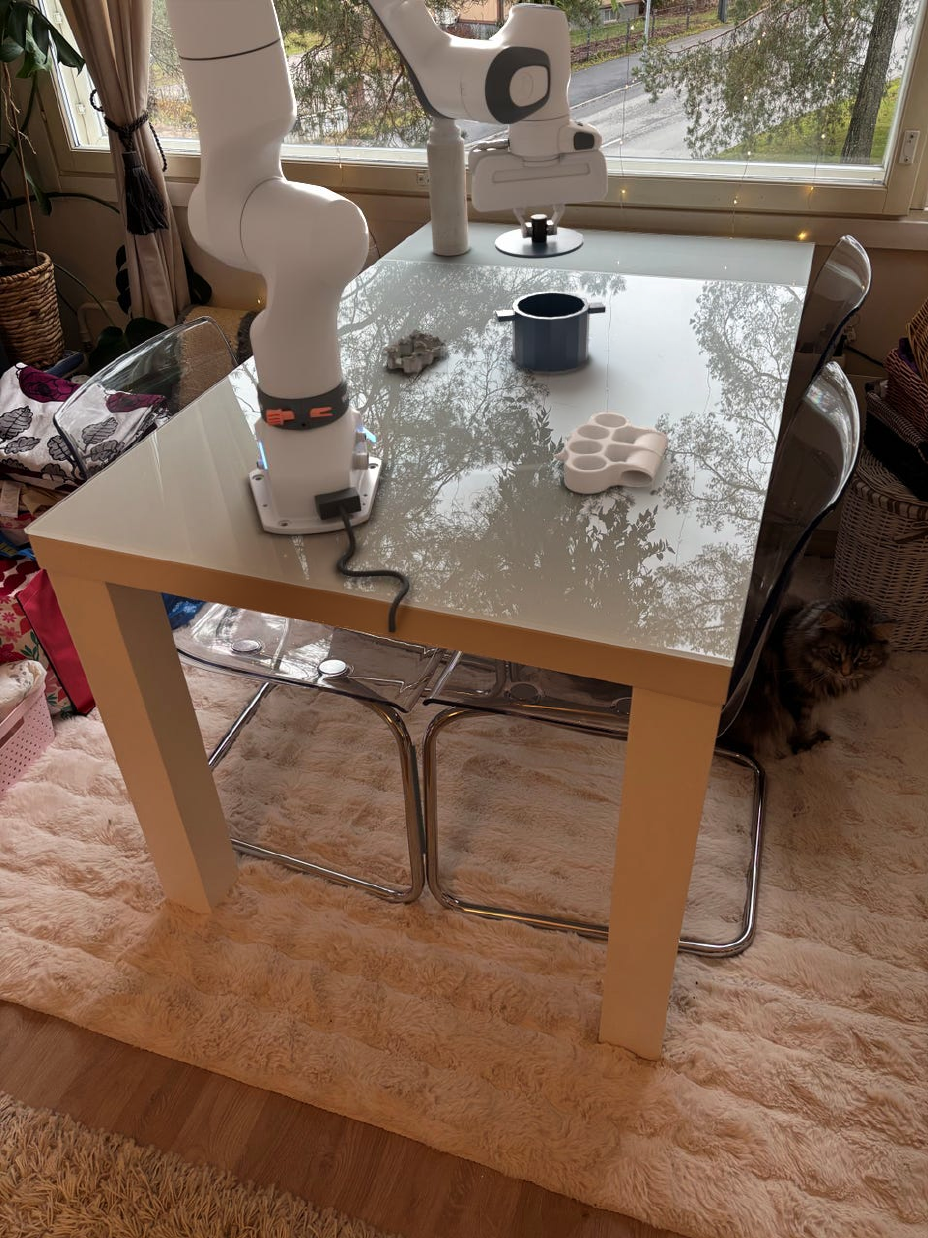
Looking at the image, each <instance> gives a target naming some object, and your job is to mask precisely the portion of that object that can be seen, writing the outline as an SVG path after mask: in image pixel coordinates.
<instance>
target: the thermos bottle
mask: <svg viewBox="0 0 928 1238" xmlns="http://www.w3.org/2000/svg"><path fill="white" fill-rule="evenodd" d="M461 130H462V129H461V127H460V126H459V125H457V119H438V118H435V117H432V126H431V127H429V129H428V137H429V138H428V139H427V141H426V142H425V143H426V156H427V159H426V160H427V173H428V175H427V177H428V189H429V190H428V192H429V204H430V211H431V212H430V216H431V219H430V220H431V221H430V222H431V236H432V237H431V239H432V251H433V253H434V254H436V255H439V256H458V255H462V254H465V253H467V252H468V251H469V249H470V248H469V223H468V201H467V175H466V173H467V172H466V171H467V170H466V150H465V148H466V147H465V139H464V138H463V137H462V135H461V134H462V131H461Z"/></svg>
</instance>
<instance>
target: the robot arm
mask: <svg viewBox="0 0 928 1238" xmlns="http://www.w3.org/2000/svg"><path fill="white" fill-rule="evenodd" d="M164 1H165V6H166V11H167V17H168V21H169V22H168V23H169V26H170V31H171V34H172V37H173V42H174V46H175V49H176V53H177V57H178V60H179V64H180V67H181V71H182V75H183V78H184V82H185V85H186V89H187V92H188V96H189V100H190V103H191V108H192V111H193V116H194V118H195V121H196V127H197V132H198V140H199V148H200V149H199V150H200V174H199V180H198V183H197V185H196V186H195V187H194V189H193V191H192V192H191V194H190V197H189V199H188V205H187V223H188V229H189V231H190V234H191V236H192V238H193V240H194V242H195V243H196V244H197V245H198V247H199V248H200V249H202V250H203V251H204V252H206V253H207V254H209V255H210V256H211V257H213V258H214V259H216V260H218V261H220V262H221V263H223V264H225V265H227V266H229V267H232V268H235V269H238V270H242V271H246V272H250V273H253V274H258V275H261V276H262V277H263V279H264V281H265V285H266V303H265V308H264V309H262V311H261V312H260V313H258V314H257V315H256V317H255V318H254V319H253V321H252V322H251V325H250V328H249V338H250V339H249V340H250V344H251V349H252V350H251V351H252V355H253V360H254V365H255V369H256V375H257V380H258V383H257V385H256V393H257V394H256V395H257V396H256V398H257V405H258V406H259V411H260V417H259V418H258V419H257V420H256V422H254V424H253V427H254V431H255V437H256V442H257V447H258V452H259V457H260V459H256V462H255V463H256V467H257V468H256V469H254V470H252V471H250V472H249V474H248V482H249V485H250V488H251V492H252V496H253V499H254V503H255V506H256V509H257V512H258V516H259V519H260V523H261V526H262V529H263V531H265V532H267V533H268V532H269V533H273V534H279V535H307V534H318V533H327V532H332V531H339V530H343V529H345V531H346V534H347V537H348V541H349V547H348V550H347V551H346V553H345V554H344V555H342V557H340V558H339V560H338V561H337V563H336V568H337V570H338V572H340V573H341V575H344V576H347V577H351V578H370V577H390V578H395V579H398V580H399V581H400V582H401V583H402V588H401V590H400V591H399V592H398V593H397V595H396V597H395V598H394V600H393V601H392V603H391V606H390V608H389V612H388V619H387V625H388V632H389V633H391V634H393V633H395V632H396V613H397V610H398V607H399V606H400V604H401V602H402V601H403V600H404V598H405V596H407V594H408V592H409V590H410V586H411V585H410V581H409V579H408V578H407V577H406V576H405V575H404V574H403V573H401V572H399V571H396V570H393V569H371V570H352V569H348V568H346V567H345V566H344V564H346V563H347V561H349V560H350V558H352V556H353V555H354V553H355V550H356V545H357V542H356V537H355V533H354V531H353V528H352V527H354V526H357V525H360V524H362V523H364V522H367V521H368V520H369V519H370V516H371V512H372V510H373V505H374V502H375V499H376V495H377V492H378V488H379V484H380V479H381V478H380V476H381V473H382V468H383V462H382V459H380V458H377V457H374V456H370V455H369V452H368V447H367V438H368V439H369V440H370V441H372V443H376V442H377V438H376V435H374V434H373V433H372V432H370V431H369V430H368V429H367V428H365V426H364V419H363V415H362V413H361V412H359V411H358V410H356V409H355V408H354V407H353V406H352V405H351V403H350V395H349V393H350V389H349V384H348V382H347V376H346V374H345V373H344V372H343V370H342V360H341V350H340V341H339V330H338V317H339V309H340V303H341V300H342V297H343V293H344V291H345V290H346V288H347V286H348V285H349V284H350V283H351V282H352V281H354V280H355V279H356V278H357V276H358V275H359V274H360V273H361V271H362V269H363V268H364V266H365V264H366V261H367V258H368V255H369V249H370V234H369V227H368V223H367V220H366V218H365V217H366V216H364V214H363V212H362V210H361V209H360V208H359V206H358V205H356V204H355V203H354V202H353V201H351V200H349V199H347V198H345V197H344V196H342V195H340V194H338V193H336V192H334V191H331V190H329V189H327V188H326V187H322V186H318V185H313V184H309V183H302V182H296V181H291V180H287V179H286V177H285V175H284V173H283V170H282V161H281V160H282V159H281V149H282V141H283V140H284V139H286V137H287V136H288V135H289V133H291V131H292V130H293V128H294V126H295V124H296V121H297V118H298V117H297V116H298V105H297V101H296V97H295V92H294V88H293V87H294V86H293V83H292V78H291V73H290V70H289V69H290V68H289V63H288V60H287V54H286V51H285V46H284V41H283V37H282V32H281V29H280V25H279V20H278V16H277V12H276V8H275V6H274V5H275V4H274V1H273V0H164ZM364 2H365V3H366V5H367V7H368V9H369V10H370V12H371V14H372V16H373V17H374V18H375V21H376V22H377V24H378V25H379V27H380V28H381V30H382V32H384V34H385V36H386V38H387V40H388V41H389V42H390V44H391V46H392V48H393V49H394V50H395V52H396V54H397V55H398V56H399V58H400V60H401V62H402V63H403V65H404V66H405V69H406V72H407V74H408V76H409V80H410V82H411V85H412V88H413V91H414V93H415V96H416V99H417V100H418V102H419V104H420V107H422V109H423V110H424V112H426V113H427V114H428V115H429V116H431V117H432V118H433V117H435V118H438V119H456V120H461V121H467V122H468V121H469V122H474V123H480V124H488V125H489V124H490V125H497V126H507V138H504V139H496V140H492V141H487V140H484V141H483V140H482V141H479V142H477V144H475V145H474V146H472V147H471V149H470V150H469V152H468V154H467V166H468V170H469V173H470V174H471V186H470V187H471V190H470V191H471V192H470V198H471V204H472V206H473V207H474V209H476V211H477V212H479V213H483V212H484V213H486V212H497V211H506V210H513V214H514V215H515V217H516V219H517V221H518V222H519V225H520V229H521V234H522V237H523V238H530V237H533V233H532V231H533V226H532V225H531V222H526V221H525V219H524V218H523V216H525V215H526V209H527V208H537V207H547V206H552V209H553V210H554V213H553V215H552V217H551V219H550V220H547V236H552V235H557V227H558V224H559V223H560V221H561V219H562V217H563V216H564V214H565V210H566V209H565V208H566V207H565V206H566V205H568V204H579V203H590V202H600V201H603V200H604V199H605V198H606V196H607V194H608V193H609V177H608V174H609V173H608V165H607V159H606V156H605V154H604V153H603V152H602V150H601V147H602V144H603V136H602V134H601V132H600V130H598V129H597V128H596V127H594V126H593V125H592V124H589V123H586V122H583V121H580V120H579V121H578V120H575V119H571V108H570V102H569V99H568V90H569V85H570V81H571V73H572V72H571V69H572V67H571V66H572V65H571V64H572V62H571V57H572V56H571V38H570V37H571V36H570V28H569V22H568V18H567V15H566V13H565V10H563V9H562V8H561V7H560V6H556V5H554V4H553V5H552V4H545V3H543V4H541V3H528V2H522V3H517V4H514V5H512V6H511V7H510V9H509V15H508V19H507V20H506V22H505V23H504V25H503V26H501V28H500V29H499V30H498V31H497V32H496V33H495V34H494V35H492V36H491V37H489V38H488V40H483V39H471V38H462V37H459V36H455V35H453V34H450V33H448V32H446V31H444V30H442V29H441V28H440V27H439V26H438V25H437V23H436V21H435V19H434V18H433V15H432V14H431V12H430V11H429V8H428V7H427V5H426V4H425V1H424V0H364ZM408 749H409V758H410V766H411V767H410V768H411V776H412V784H413V793H414V794H413V795H414V803H415V813H416V820H417V822H416V823H417V829H418V838H419V845H420V852H421V854H422V855H426V854H427V852H428V851H427V843H426V834H425V826H424V814H423V807H422V797H421V786H420V777H419V767H418V758H417V750H416V745H414V744H412V745H408Z"/></svg>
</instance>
